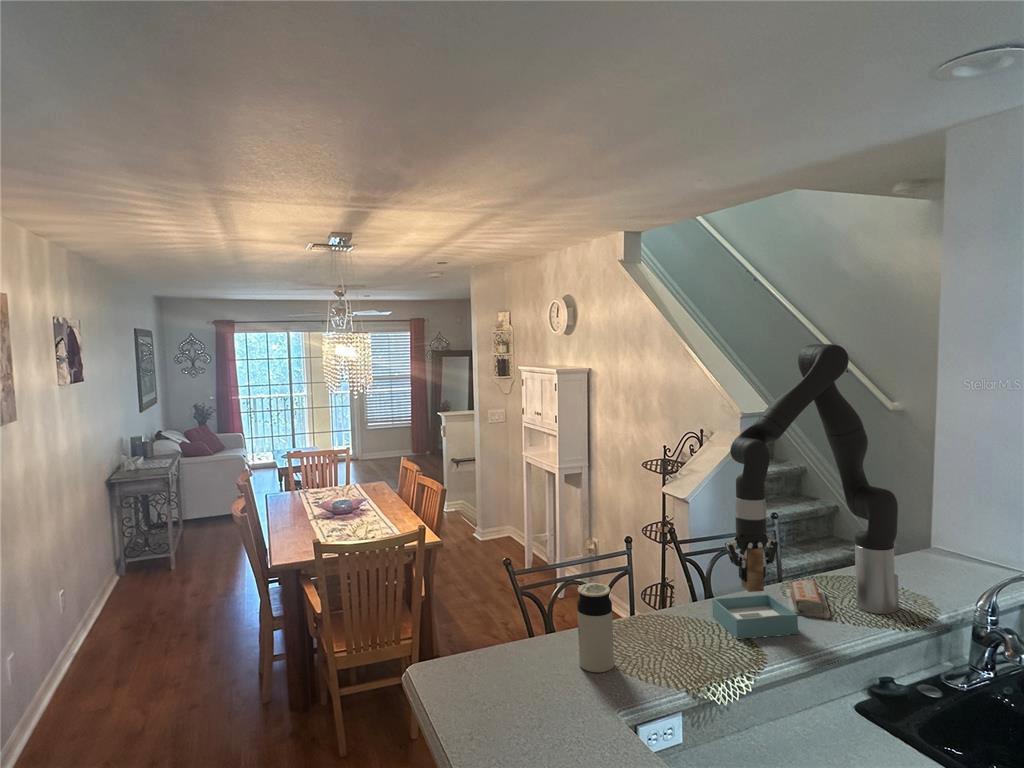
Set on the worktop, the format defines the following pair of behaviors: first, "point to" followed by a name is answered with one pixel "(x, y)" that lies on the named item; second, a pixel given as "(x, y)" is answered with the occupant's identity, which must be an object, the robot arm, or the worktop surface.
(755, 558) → the brown wooden block
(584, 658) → the travel mug
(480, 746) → the worktop surface
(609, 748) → the worktop surface
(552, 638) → the worktop surface
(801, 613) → the packaged product
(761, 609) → the walled box
